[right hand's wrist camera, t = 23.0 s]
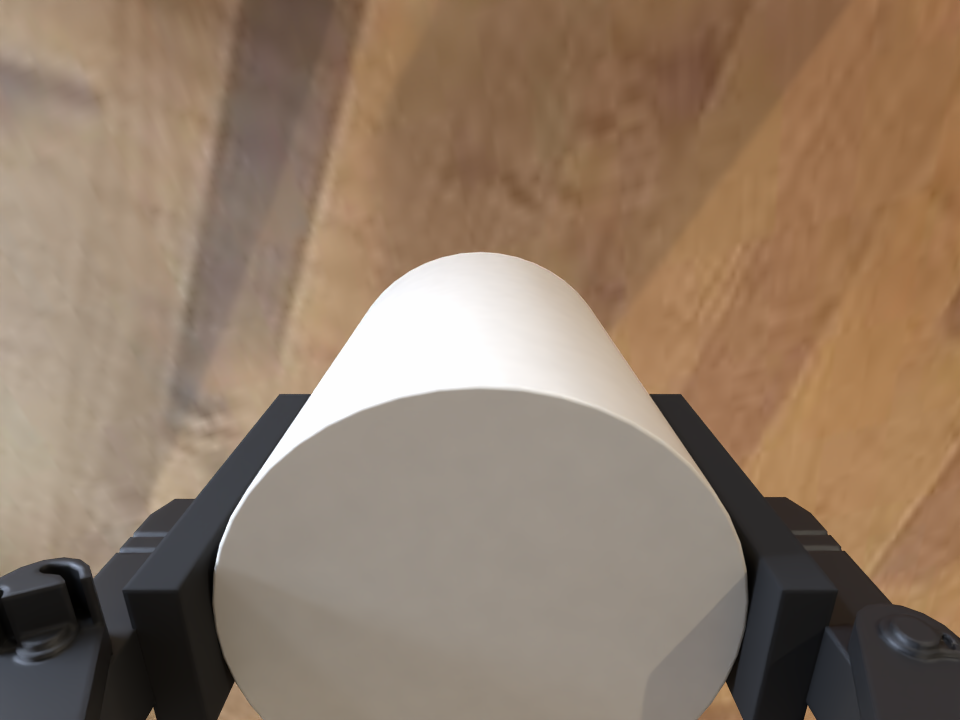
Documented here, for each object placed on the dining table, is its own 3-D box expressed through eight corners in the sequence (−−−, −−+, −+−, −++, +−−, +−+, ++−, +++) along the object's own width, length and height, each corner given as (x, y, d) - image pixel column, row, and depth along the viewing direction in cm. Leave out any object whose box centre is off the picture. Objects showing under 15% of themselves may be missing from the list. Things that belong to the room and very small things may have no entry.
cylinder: (653, 424, 19) (825, 701, 9) (437, 530, 20) (401, 862, 11) (532, 198, 16) (603, 269, 7) (296, 337, 18) (93, 551, 8)
